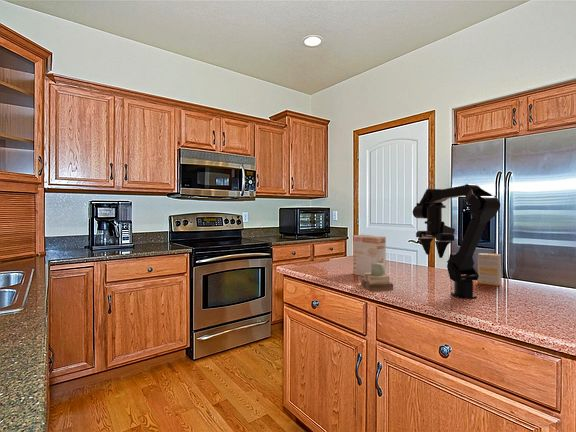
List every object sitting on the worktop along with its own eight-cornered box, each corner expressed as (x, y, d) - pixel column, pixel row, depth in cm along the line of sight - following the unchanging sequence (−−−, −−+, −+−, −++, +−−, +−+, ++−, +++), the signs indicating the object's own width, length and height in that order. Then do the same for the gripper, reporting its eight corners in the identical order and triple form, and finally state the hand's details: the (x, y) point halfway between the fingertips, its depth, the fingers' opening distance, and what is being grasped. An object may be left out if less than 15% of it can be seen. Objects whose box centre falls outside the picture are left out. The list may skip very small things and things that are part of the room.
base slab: (393, 291, 136) (393, 284, 136) (369, 292, 135) (369, 284, 135) (383, 285, 146) (383, 278, 146) (361, 286, 145) (361, 279, 145)
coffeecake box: (386, 277, 159) (386, 236, 158) (376, 279, 155) (376, 237, 154) (362, 272, 171) (362, 234, 171) (352, 274, 167) (352, 235, 167)
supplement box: (501, 284, 144) (502, 254, 143) (499, 286, 140) (499, 255, 140) (480, 281, 149) (480, 252, 149) (477, 283, 146) (477, 253, 145)
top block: (389, 283, 137) (389, 276, 137) (370, 284, 136) (370, 276, 136) (382, 279, 145) (382, 272, 145) (364, 279, 144) (364, 272, 144)
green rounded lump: (385, 275, 138) (385, 264, 138) (373, 276, 138) (373, 265, 137) (380, 273, 143) (380, 262, 143) (369, 273, 142) (369, 263, 142)
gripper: (467, 219, 132) (466, 258, 133) (438, 218, 151) (438, 252, 151) (441, 219, 130) (441, 259, 131) (415, 218, 149) (415, 253, 149)
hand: (434, 256), depth 140 cm, fingers open, 9 cm apart
